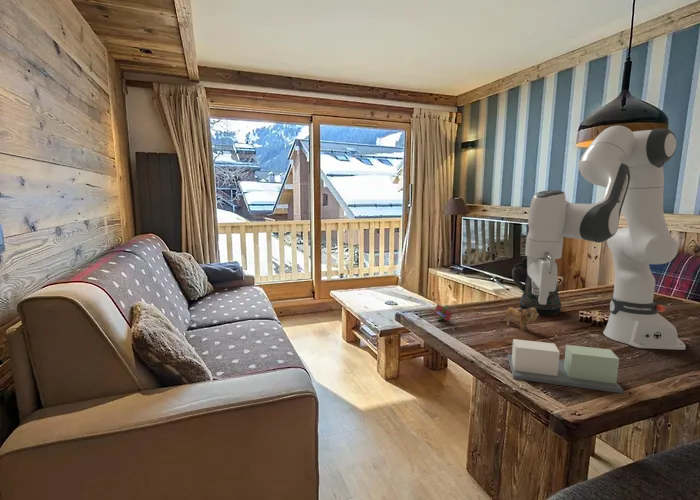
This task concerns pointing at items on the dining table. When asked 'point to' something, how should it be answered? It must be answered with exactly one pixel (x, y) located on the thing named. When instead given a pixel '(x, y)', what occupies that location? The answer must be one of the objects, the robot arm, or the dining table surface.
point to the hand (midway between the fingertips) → (538, 298)
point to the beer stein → (532, 300)
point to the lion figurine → (521, 316)
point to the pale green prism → (591, 364)
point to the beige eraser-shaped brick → (535, 357)
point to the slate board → (564, 379)
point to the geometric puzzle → (442, 312)
